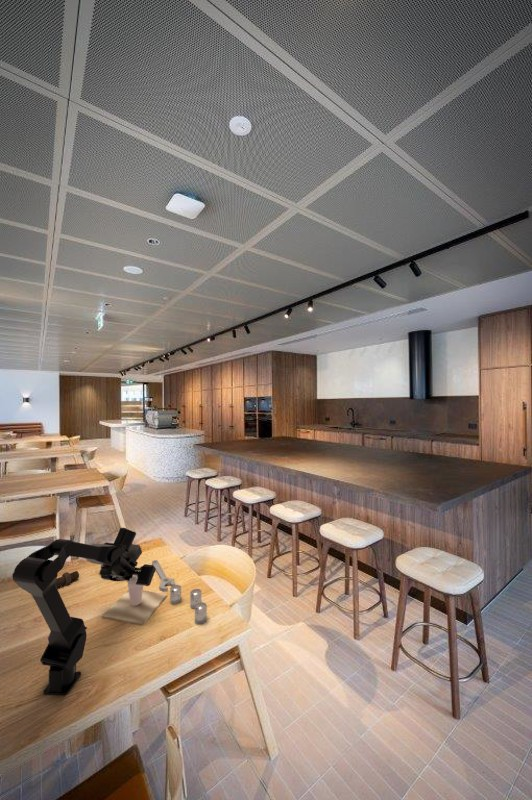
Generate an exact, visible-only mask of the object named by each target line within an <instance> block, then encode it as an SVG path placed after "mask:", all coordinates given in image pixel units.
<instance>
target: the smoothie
mask: <svg viewBox="0 0 532 800" xmlns="http://www.w3.org/2000/svg"><path fill="white" fill-rule="evenodd" d="M137 579H138V577H137V575H133V576H132V578H130V580H129V581H126V583H127V587H128V590H129V597H130V604H131V605H133V606H135V605H138V604H140V603H141V599H142V592H143V591H144V586H143V585H136V582H137Z"/></svg>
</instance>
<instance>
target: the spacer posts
mask: <svg viewBox="0 0 532 800" xmlns="http://www.w3.org/2000/svg"><path fill="white" fill-rule="evenodd" d="M169 590H170V591H169V603H170V604H171V605H173V606H174V605H175V606H176V605H178V604H180V603H181V602H182V586H181V585H180V584H175V585H174V586H172V587H171V586H170V589H169ZM189 595H190V596H189V597H190V598H189V599H190V603H189V605H190V609H191V610H194V623H195V624H196V625H203V624H205V623H206V622H207V620H208V619H207V617H208V616H207V615H208V613H207V611H208V606H207V605H208V604H207V603H205V602H202V590H201V589H200V588H194V589H192V590H191V591H190V594H189Z"/></svg>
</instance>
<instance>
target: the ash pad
mask: <svg viewBox="0 0 532 800" xmlns="http://www.w3.org/2000/svg"><path fill="white" fill-rule="evenodd" d="M167 598H168V594H167V593H160V592H157V591H156V592H154V591H148V590H143V592H142V599H141V603H140V604H138V605H135V606H133V605H131V604H130V597H129V589H128V591H126V593H124V594H123V595H122V596H121V597H120V598H118V600H117V601H116V602H115V603H113V604H112V605H111V607H108V609H107V610H106V611H105V612H104V613H102V615H101V618H102V619H106V620H111V621H117V622H123V623H127V624H128V623H130V624H134V625H139V626H144V625H145V623H146V622H147V621H148V620H149V619H150V617H151V616H152V615H153V614H154V613H155V612H156V610H157V609H158V608H160V606H161V604H162V603H163V602H164V601H165V600H166V599H167ZM148 618H149V619H148ZM147 619H148V620H147Z"/></svg>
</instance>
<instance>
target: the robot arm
mask: <svg viewBox="0 0 532 800" xmlns="http://www.w3.org/2000/svg"><path fill="white" fill-rule="evenodd" d="M136 536H137V532H136V531H134V530H130V529H127V527H120V529H119V530H118V533H117V536H116V537H115V539H114V542H103V543H93V544H87V543H82V542H77V541H74V540H71V539H64V538H58V539H54V540H53V541H51V542H50V543H49V544H47V545H46V546H44V547H41V548H40V549H38V550H35V551H34V552H31V553H30V554H29V555H28V556H27V557H24V558H23V559H22V560H20V561H19V562H18V564H17V565H16V566H15V568H14V570H13V572H12V581H13V582H14V583H15V584H16V585H17V586H18V587H19V588H20V589H21V590H24V591H25V592H27V593H28V594H30V595H31V596H32V598H33V599H34V601H35V604H36V605H37V607H38V609H39V612H40V613H41V615H42V617H43V619H44V621H45V623H46V624H47V627H48V628H49V630H50V632H49V634H48V638H47V641H48V644H47V645H46V648H45V649H44V652H43V654H42V656H41V657H40V659H39V661H40V663H41V665H42V666H48V667H49V669H48V684H47V685H46V687H45V688H44V690H43V692H42V694H43V695H44V694H45V695H60V696H61V695H62V696H66V695H68V694H69V692H70V690H71V689H72V688H73V686H75V684H76V682H77V681H78V680H79V678H80V676H81V675H82V671H77V663H79V662H80V660H81V659H82V658H83V655H84V651H85V646H86V641H87V637H88V635H87V631H86V630H87V629H88V627H86V625H85V621H84V619H83V618H79V617H75V616H70V613H69V611H68V609H67V607H66V605H65V603H64V601H63V598H62V596H61V594H60V592H59V590H58V587H56V585H55V581H56V578H58V573H60V571H62V569H63V568H64V567H65V564H66V561H67V559H68V558H69V557H73V558H81V559H85V560H86V561H87V562H89V563H91V564H96V565H100V570H99V575H100V578H101V579H102V580H104V581H105V580H106V581H112V582H125V581H126V582H127V581H129V580H130V578H132V576H133V575H137V577H138V579H137V582H136V585H143V587H144V586H145V587H149V586H150V585H151V583H152V580H153V577H154V575H155V573H156V571H155V570H156V568H155V566H153V565H152V564H146V563H144V564H143V565H142V566H140V567H137V566H138V563H139V562H137V561H138V560H139V558H140V557H141V555H142V554H143V550H142V546H141V545H140V544H135V543H134V541H135V538H136ZM54 556H57V557H55V559H53V560H52V558H53V557H54ZM101 565H102V567H101Z"/></svg>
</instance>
